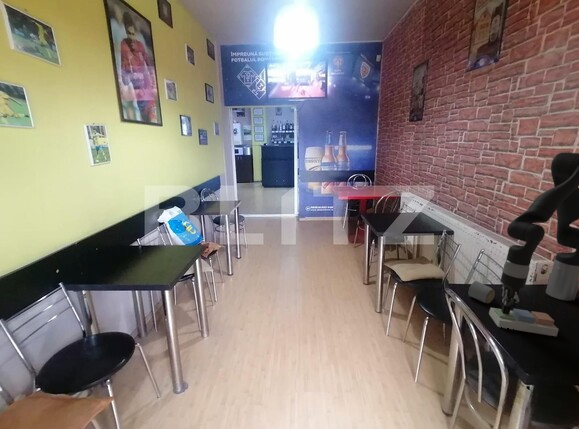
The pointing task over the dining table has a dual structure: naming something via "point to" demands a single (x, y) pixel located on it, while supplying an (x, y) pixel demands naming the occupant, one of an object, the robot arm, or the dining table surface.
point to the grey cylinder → (481, 292)
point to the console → (523, 325)
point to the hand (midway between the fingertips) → (505, 312)
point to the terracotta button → (542, 318)
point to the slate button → (523, 315)
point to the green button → (504, 315)
